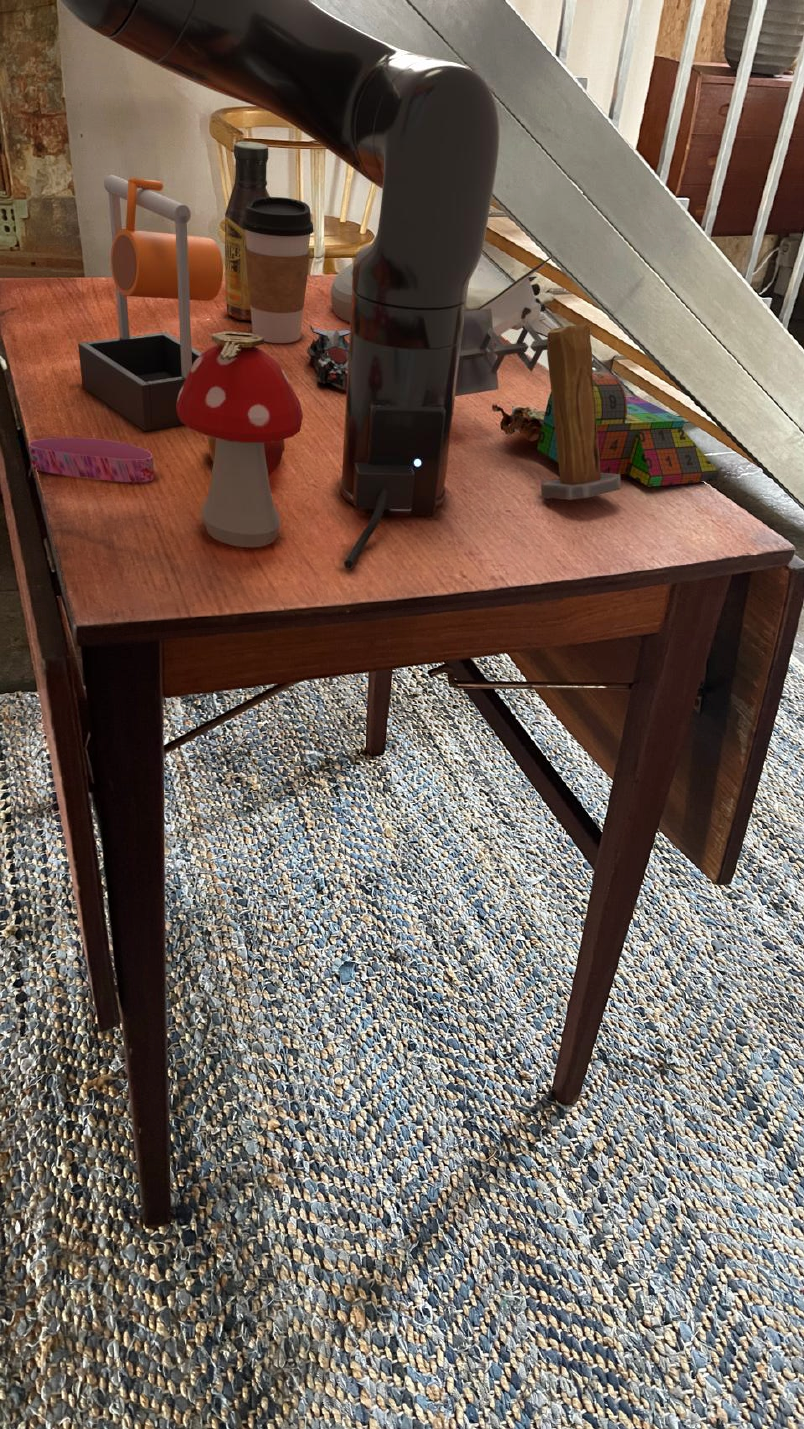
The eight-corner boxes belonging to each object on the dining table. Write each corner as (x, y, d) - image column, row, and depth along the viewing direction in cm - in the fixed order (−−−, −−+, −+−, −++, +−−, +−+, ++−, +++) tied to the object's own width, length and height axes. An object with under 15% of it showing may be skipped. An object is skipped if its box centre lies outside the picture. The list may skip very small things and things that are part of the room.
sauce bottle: (222, 309, 134) (218, 137, 122) (268, 309, 136) (270, 140, 124) (230, 324, 129) (228, 146, 117) (279, 324, 131) (281, 149, 119)
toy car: (354, 359, 122) (356, 324, 120) (371, 394, 113) (374, 356, 110) (303, 358, 121) (304, 322, 118) (317, 393, 111) (318, 355, 109)
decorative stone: (495, 289, 134) (490, 250, 130) (373, 338, 129) (366, 298, 125) (423, 259, 146) (417, 222, 143) (310, 302, 141) (302, 266, 138)
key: (200, 358, 68) (200, 352, 68) (214, 335, 75) (214, 330, 75) (257, 362, 69) (257, 356, 68) (265, 339, 76) (265, 334, 75)
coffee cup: (315, 330, 130) (320, 201, 121) (304, 350, 123) (307, 214, 114) (250, 323, 130) (250, 193, 121) (235, 342, 123) (233, 206, 115)
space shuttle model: (457, 319, 114) (510, 393, 116) (564, 239, 127) (609, 306, 130) (383, 384, 126) (431, 450, 129) (487, 305, 140) (530, 365, 142)
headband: (40, 430, 91) (43, 454, 92) (23, 446, 88) (26, 470, 89) (160, 446, 91) (161, 469, 92) (147, 462, 88) (148, 486, 89)
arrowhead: (376, 277, 143) (540, 271, 149) (375, 302, 145) (537, 296, 152) (402, 304, 134) (575, 297, 140) (400, 331, 136) (571, 323, 143)
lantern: (380, 492, 112) (572, 501, 89) (358, 328, 107) (557, 291, 83) (436, 480, 116) (634, 485, 92) (417, 321, 111) (623, 284, 87)
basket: (234, 415, 104) (231, 202, 92) (144, 431, 99) (129, 207, 87) (168, 373, 112) (158, 173, 101) (82, 386, 107) (60, 176, 95)
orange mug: (220, 307, 101) (136, 303, 96) (190, 292, 105) (108, 287, 99) (231, 195, 96) (143, 183, 91) (200, 183, 100) (113, 171, 94)
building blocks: (602, 490, 94) (627, 399, 89) (536, 450, 100) (556, 362, 96) (716, 480, 101) (745, 395, 96) (647, 443, 108) (671, 361, 103)
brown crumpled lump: (522, 388, 110) (539, 443, 112) (480, 409, 101) (499, 469, 102) (581, 368, 106) (598, 425, 108) (544, 387, 97) (562, 450, 99)
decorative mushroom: (157, 532, 82) (145, 341, 73) (225, 497, 88) (222, 318, 79) (257, 571, 78) (258, 375, 69) (321, 532, 84) (329, 347, 75)
